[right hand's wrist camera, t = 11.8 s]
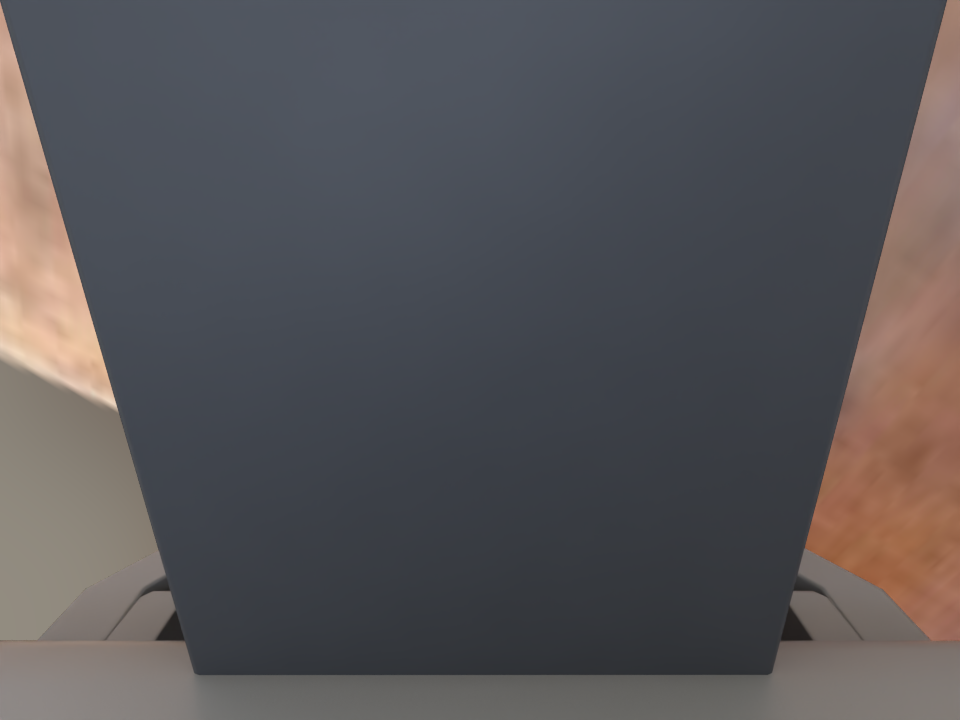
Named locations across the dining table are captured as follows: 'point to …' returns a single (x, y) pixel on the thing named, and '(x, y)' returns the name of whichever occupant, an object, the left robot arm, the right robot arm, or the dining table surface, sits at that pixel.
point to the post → (477, 310)
